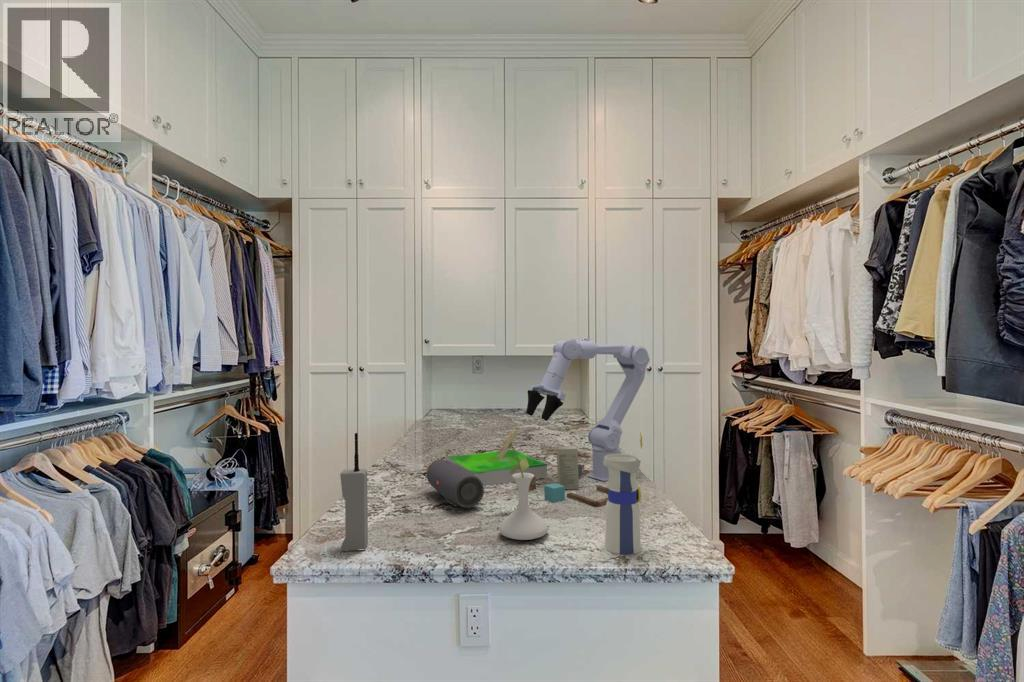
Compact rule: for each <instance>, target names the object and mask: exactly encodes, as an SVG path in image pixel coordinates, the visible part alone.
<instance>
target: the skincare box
mask: <svg viewBox="0 0 1024 682" xmlns="http://www.w3.org/2000/svg"><path fill="white" fill-rule="evenodd" d="M578 451H579V450H578V446H577V445H559V446H558V445H557V446H556V461H557V462H556V463H557V464H556V465H557V484H560V485H563V486H565V490H579V488H580V485H579V481H580V480H579V478H580V477H578V464H579V456H578V455H579V454H578V453H579V452H578Z"/></svg>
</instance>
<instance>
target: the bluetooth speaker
mask: <svg viewBox="0 0 1024 682" xmlns="http://www.w3.org/2000/svg"><path fill="white" fill-rule="evenodd" d="M426 480H427V482H428V483H429V485H430V486H431V487H433V488H434V490H435V491H437V492H438V493H439V494H441V495H442V496H443V499H444V500H446V501H447V500H448V501H449V502H450V504H451V503H452V504H453V506H454V505H456V506H455V507H460V508H461V507H462V508H473V507H475V506H477V505H478V504H479V503H480V502H481V501H482V499H483V497H484V495H485V494H484V493H485V486H484V487H483V484H482V482H481V481H480V479H479V478H478V477H476V476H475V475H474V474H472V473H471V472H469V471H468V470H466V469H465V468H463V467H461V466H459V465H457V464H455V463H453V462H450V461H448V459H442V458H439V459H436V460H434V461H432V462H431V463H430V464H429V466H428V467H427V471H426ZM448 501H447V502H448ZM449 502H448V503H449ZM452 504H451V505H452Z"/></svg>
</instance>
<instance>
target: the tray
mask: <svg viewBox="0 0 1024 682" xmlns="http://www.w3.org/2000/svg"><path fill="white" fill-rule="evenodd" d="M515 451H516V453H517V456H518V458H519V462H520V461H521V460H522V459H524V458H525V457H526V459H527V461H528V464H529V467H528V468H527V469H526V470H524V471H522V472H523V473H531V474H533V475H534V476H535V477H536V479H537V480H540V479H539V478H544V479H547V478H548V464H547V463H545V462H543V461H541V460H538V459H536V458H534V457H532V456H529V455H527V454H525V453H523V452H520V451H518V450H516V449H515ZM499 453H500V452H498V450H497V451H489V452H481V453H480V452H479V453H470V454H469V453H468V454H459V455H450V456H449V455H448V456H447V460H448V461H450V462H453V463H455V464H457V465H459V466H461V467H463V468H465V469H466V470H468V471H469V472H471V473H472V474H474V475H475V476H476V477H478V478H479V479H480V481H481V482H482V484H483V486H484V487H487V486H486V485H491V486H495V485H494V484H499V485H502V484H501V483H506V484H510V483H509V482H514V483H516V481H515V480H514V478H513V477H512V475H513V474H516V473H521V471H520V469H519V467H518V468H517V470H516V471H515V473H513V474H509V473H510V470H511V469H512V467H513V466H514V465H516V464H518V460H517V457H516V455H515V453H514V451H513V449H509V450H508V452H507V453H506V454H505V455H504V456H503V457H502V458H500V459H499V457H497V455H498V454H499ZM546 477H547V478H546Z"/></svg>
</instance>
